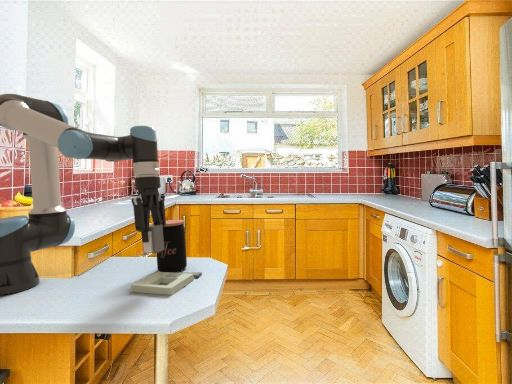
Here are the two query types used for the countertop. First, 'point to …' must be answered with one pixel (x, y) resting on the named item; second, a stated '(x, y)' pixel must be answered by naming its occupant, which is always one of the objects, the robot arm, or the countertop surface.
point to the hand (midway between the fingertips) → (153, 250)
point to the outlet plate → (153, 281)
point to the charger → (157, 238)
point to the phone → (195, 274)
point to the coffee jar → (173, 248)
